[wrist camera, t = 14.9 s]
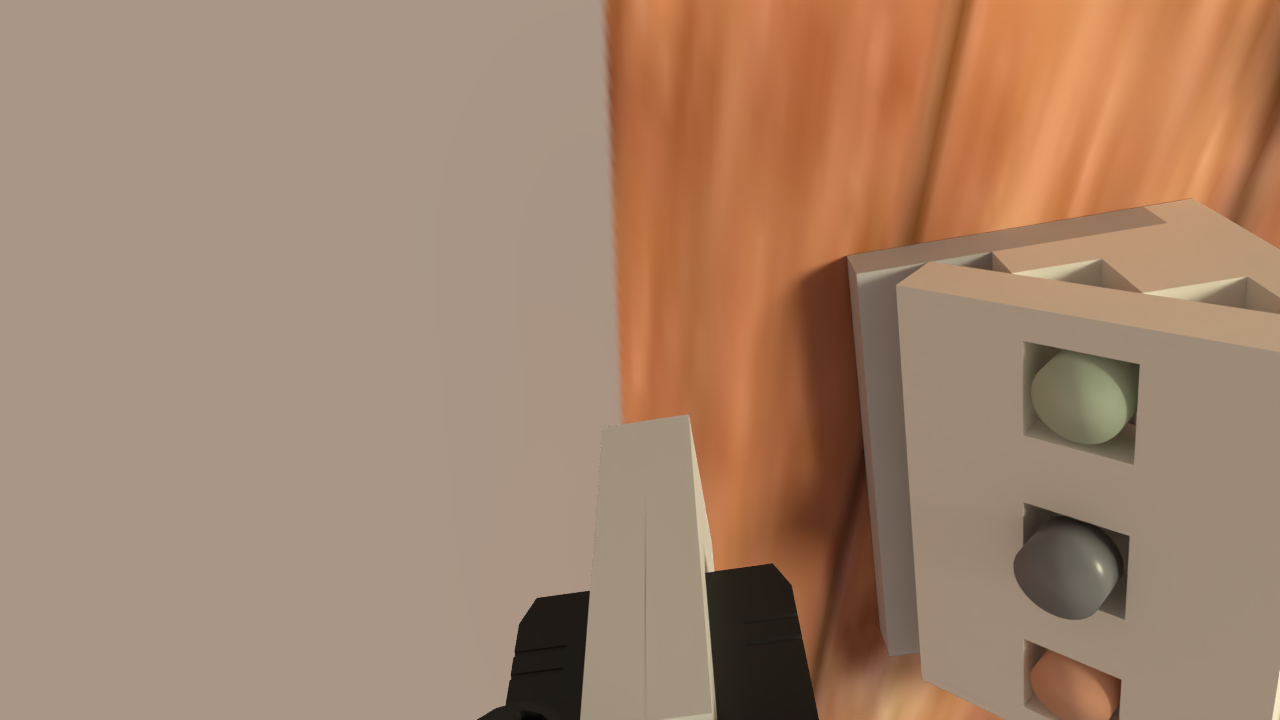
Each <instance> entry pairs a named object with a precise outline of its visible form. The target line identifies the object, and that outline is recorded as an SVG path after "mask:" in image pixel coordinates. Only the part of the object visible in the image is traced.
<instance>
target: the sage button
mask: <svg viewBox="0 0 1280 720" xmlns="http://www.w3.org/2000/svg"><path fill="white" fill-rule="evenodd" d="M1139 370H1140V364H1136V363H1131V362H1126V361H1121V360H1116V359H1111V358H1106V357H1101V356H1096V355H1091V354H1086V353H1081V352H1076V351H1071V350H1066V349H1062V350H1061V351H1059V352H1058V353H1057V354H1056V355H1055V356H1054V357H1053V358H1052V359H1051V360H1050V361H1049V362H1048V363H1047V364H1046V365H1045V366H1044V367H1043V368H1041V369H1040V370H1039V372H1038V373H1037V374H1036V376H1035V377H1034V380H1033V382H1032V386H1031V397H1032V402H1033V405H1034V408H1035V410H1036V412H1037V414H1038V415H1039V417H1040V418H1041V420H1042V421H1043V422H1044V423H1045V424H1046V425H1047V426H1048V427H1049V428H1050V429H1051V430H1052V431H1054V432H1055V433H1057V434H1058V435H1060V436H1062V437H1063V438H1065V439H1068V440H1070V441H1073V442H1077V443H1081V444H1098V443H1103V442H1106V441H1108V440H1110V439H1112V438H1113V437H1115V436H1116V435H1117V434H1118V433H1119V432H1120V431H1121V430H1122V428H1123V427H1124V426H1125V425H1126V424H1127V423H1128V422H1129V420H1130V419H1131V418H1132V417H1133V416H1134V415H1135V414H1136V412H1137V404H1138V387H1139Z"/></svg>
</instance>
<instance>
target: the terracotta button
mask: <svg viewBox="0 0 1280 720" xmlns="http://www.w3.org/2000/svg"><path fill="white" fill-rule="evenodd" d="M1121 681H1122V680H1121V679H1119V678H1116V677H1114V676H1111V675H1109V674H1107V673H1104V672H1102V671H1100V670H1097V669H1095V668H1092V667H1090V666H1088V665H1085V664H1083V663H1080V662H1078V661H1076V660H1073V659H1071V658H1068V657H1066V656H1064V655H1061V654H1059V653H1056V652H1054V651H1052V650H1049V649H1047V651H1046V652H1045V653H1044V655H1043V656H1042V657H1041V658H1040V660H1039V661H1038V662H1037V664H1036V665H1035V666H1034V668H1033V669H1032V672H1031V684H1032V687H1033V690H1034V692H1035V694H1036V695H1037V697H1038V698H1039V700H1040V701H1041V702H1042V704H1043V705H1044V706H1045V707H1046V708H1047V709H1048V710H1049V711H1051V712H1052V713H1053V714H1054V715H1056V716H1057V717H1058V718H1060V719H1062V720H1109V719H1110V717H1111V716H1112V714H1113V713H1114V711H1115V710H1116V708H1117V706H1118V705H1119V703H1120V698H1121Z"/></svg>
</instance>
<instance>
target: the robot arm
mask: <svg viewBox="0 0 1280 720" xmlns="http://www.w3.org/2000/svg"><path fill="white" fill-rule="evenodd" d="M477 720H819V718H818V713H817V708H816V703H815V698H814V693H813V688H812V684H811V679H810V674H809V669H808V664H807V659H806V654H805V649H804V644H803V640H802V635H801V629H800V625H799V620H798V615H797V610H796V605H795V600H794V595H793V590H792V585H791V584H790V583H789V582H788V581H787V579H786V578H785V577H784V576H783V575H782V574H781V573H780V572H779V570H778V569H777V568H776V567H775V566H774V565H773V564H765V565H758V566H751V567H744V568H736V569H729V570H722V571H714V563H713V553H712V543H711V537H710V531H709V525H708V520H707V514H706V509H705V503H704V498H703V492H702V486H701V481H700V475H699V470H698V464H697V459H696V453H695V447H694V442H693V436H692V431H691V425H690V420H689V414H688V415H681V416H675V417H668V418H661V419H655V420H648V421H641V422H635V423H628V424H622V425H615V426H608V427H603V429H602V442H601V456H600V469H599V481H598V495H597V507H596V521H595V533H594V547H593V559H592V573H591V585H590V591H585V592H578V593H570V594H563V595H556V596H548V597H541V598H537V599H536V600H535V601H534V603H533V604H532V606H531V608H530V609H529V610H528V612H527V613H526V615H525V616H524V618H523V619H522V621H521V622H520V624H519V629H518V634H517V640H516V646H515V657H514V658H513V664H512V671H511V680H510V682H509V688H508V694H507V700H506V706H503V707H499V708H496V709H494V710H492V711H491V712H489V713H487V714H486V715H484V716H483V717H481V718H479V719H477Z"/></svg>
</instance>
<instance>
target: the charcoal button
mask: <svg viewBox="0 0 1280 720" xmlns="http://www.w3.org/2000/svg"><path fill="white" fill-rule="evenodd" d="M1013 569H1014V575H1015V578H1016V581H1017V583H1018V585H1019V586H1020V588H1021V589H1022V591H1023V592H1024V593H1025V595H1026V596H1027V597H1028V598H1029V599H1030V600H1031V601H1032V602H1033V603H1034V604H1036V605H1037V606H1038V607H1040V608H1041V609H1043V610H1044V611H1046V612H1048V613H1050V614H1052V615H1054V616H1057V617H1060V618H1064V619H1069V620H1081V619H1086V618H1088V617H1090V616H1092V615H1093V614H1094V613H1095V612H1096V611H1097V610H1098V609H1099V607H1100V606H1101V605H1102V603H1103V602H1104V601H1105V599H1106V598H1107V597H1108V595H1109V594H1110V593H1111V591H1112V590H1113V588H1114V587H1115V586H1116V584H1117V583H1118V582H1119V580H1120V579H1121V577H1122V574H1123V569H1124V566H1123V559H1122V556H1121V553H1120V551H1119V549H1118V548H1117V546H1116V544H1115V543H1114V542H1113V541H1112V539H1111V538H1110V537H1109V536H1108V535H1107V534H1106V533H1105V532H1103V531H1102V530H1101V529H1099V528H1098V527H1097V526H1095V525H1093V524H1090V523H1087V522H1084V521H1081V520H1078V519H1075V518H1072V517H1068V516H1058V517H1053V518H1051V519H1049V520H1047V521H1045V522H1044V523H1043V524H1042V525H1041V526H1040V528H1039V529H1038V530H1037V531H1036V532H1035V533H1034V535H1033V536H1032V537H1031V538H1030V539H1029V540H1028V541H1027V543H1026V544H1025V545H1024V546H1023V547H1022V548H1021V549H1020V551H1019V552H1018V553H1017V554H1016V556H1015V559H1014V563H1013Z"/></svg>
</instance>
